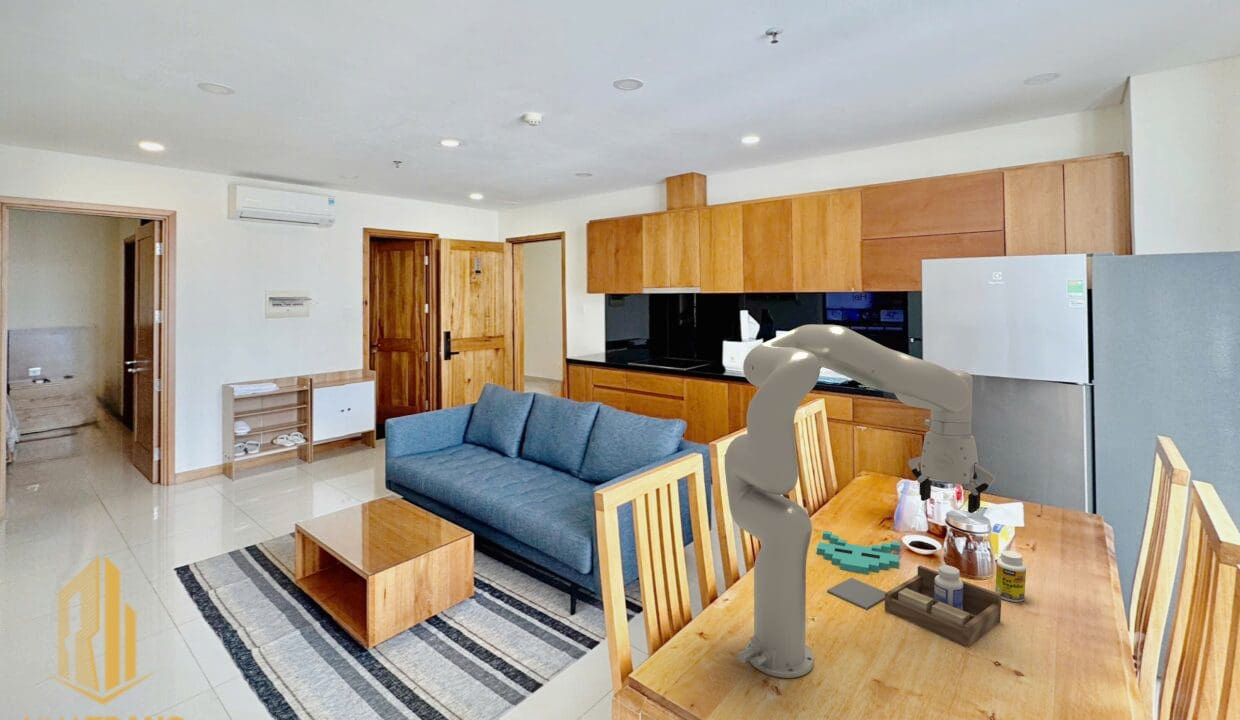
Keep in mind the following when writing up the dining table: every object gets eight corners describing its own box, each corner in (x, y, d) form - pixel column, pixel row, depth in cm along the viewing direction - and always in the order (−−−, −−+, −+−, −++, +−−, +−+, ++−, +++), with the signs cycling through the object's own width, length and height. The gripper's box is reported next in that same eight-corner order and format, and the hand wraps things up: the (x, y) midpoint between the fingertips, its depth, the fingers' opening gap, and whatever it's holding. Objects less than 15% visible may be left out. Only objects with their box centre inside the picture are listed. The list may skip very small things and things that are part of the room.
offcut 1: (925, 623, 118) (926, 603, 118) (897, 611, 123) (898, 592, 123) (932, 619, 120) (933, 599, 119) (905, 607, 125) (905, 588, 124)
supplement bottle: (998, 600, 127) (1000, 557, 126) (992, 589, 132) (994, 547, 131) (1027, 605, 124) (1029, 561, 123) (1021, 593, 129) (1022, 550, 129)
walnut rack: (967, 647, 110) (968, 618, 109) (884, 610, 123) (885, 584, 123) (1000, 621, 118) (1001, 594, 118) (919, 589, 132) (919, 565, 131)
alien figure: (823, 537, 164) (812, 566, 146) (823, 530, 164) (812, 558, 146) (899, 550, 155) (897, 581, 137) (899, 542, 154) (898, 573, 137)
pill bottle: (959, 607, 124) (961, 565, 123) (964, 620, 119) (966, 576, 118) (931, 603, 126) (933, 561, 125) (935, 615, 121) (937, 572, 120)
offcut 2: (962, 639, 112) (962, 618, 112) (931, 626, 117) (932, 606, 117) (968, 634, 114) (969, 613, 114) (938, 621, 119) (939, 601, 118)
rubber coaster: (866, 610, 124) (866, 607, 124) (827, 591, 132) (827, 589, 132) (890, 596, 129) (890, 593, 129) (851, 579, 138) (851, 577, 138)
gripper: (901, 424, 124) (900, 498, 126) (988, 437, 110) (985, 521, 112) (918, 419, 129) (916, 491, 130) (1003, 431, 115) (1000, 512, 116)
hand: (948, 505), depth 121 cm, fingers open, 9 cm apart
